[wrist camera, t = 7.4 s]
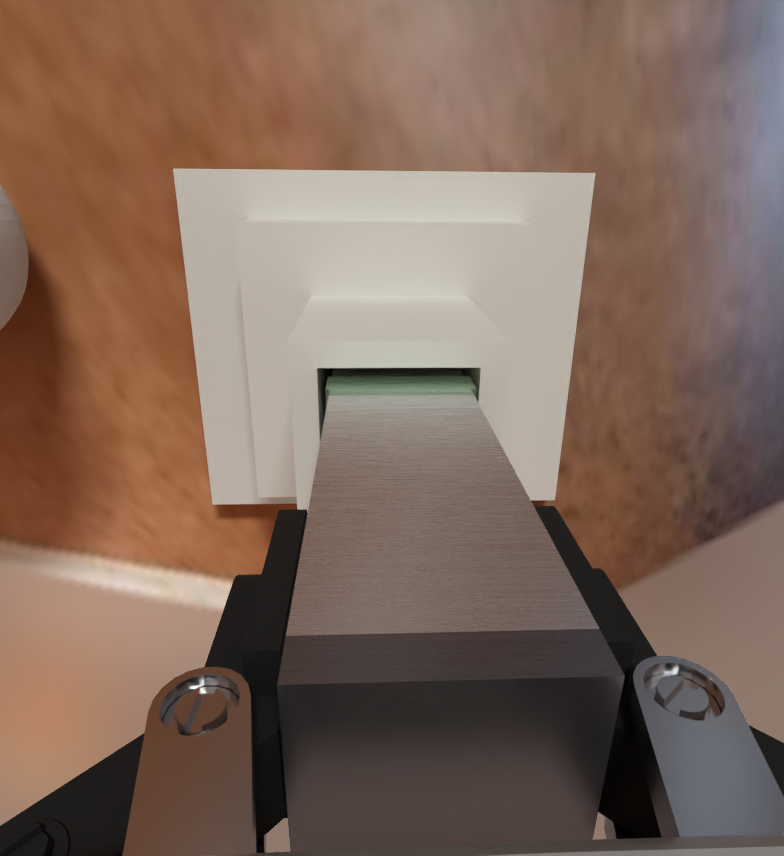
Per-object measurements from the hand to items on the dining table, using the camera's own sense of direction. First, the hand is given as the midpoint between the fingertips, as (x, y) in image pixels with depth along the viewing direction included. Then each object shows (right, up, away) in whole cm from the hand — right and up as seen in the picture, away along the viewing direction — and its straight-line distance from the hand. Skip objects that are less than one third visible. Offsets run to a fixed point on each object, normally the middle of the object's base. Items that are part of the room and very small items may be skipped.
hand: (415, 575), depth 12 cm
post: (-1, +4, +11) cm, 12 cm away
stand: (-1, +7, +17) cm, 19 cm away
